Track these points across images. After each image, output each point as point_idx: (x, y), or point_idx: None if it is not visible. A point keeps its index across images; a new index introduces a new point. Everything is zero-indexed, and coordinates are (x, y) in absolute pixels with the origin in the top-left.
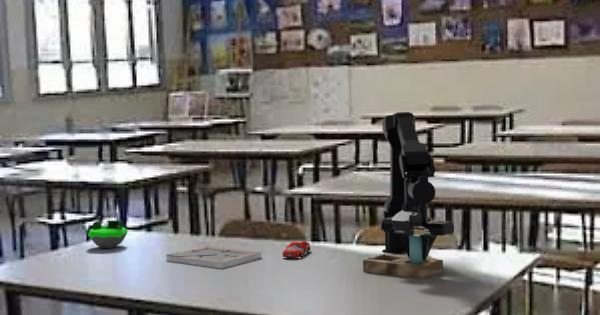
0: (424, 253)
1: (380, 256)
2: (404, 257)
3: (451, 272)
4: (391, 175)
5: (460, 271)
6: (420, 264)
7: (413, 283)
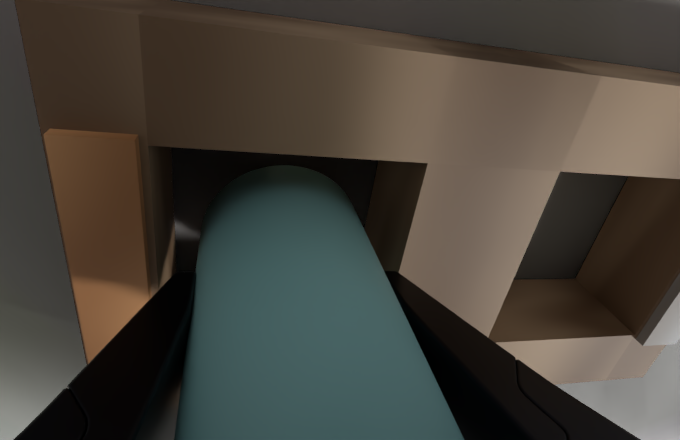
0: (139, 322)
1: (670, 289)
2: None
3: (44, 347)
4: None
5: (9, 397)
6: (216, 216)
7: None
